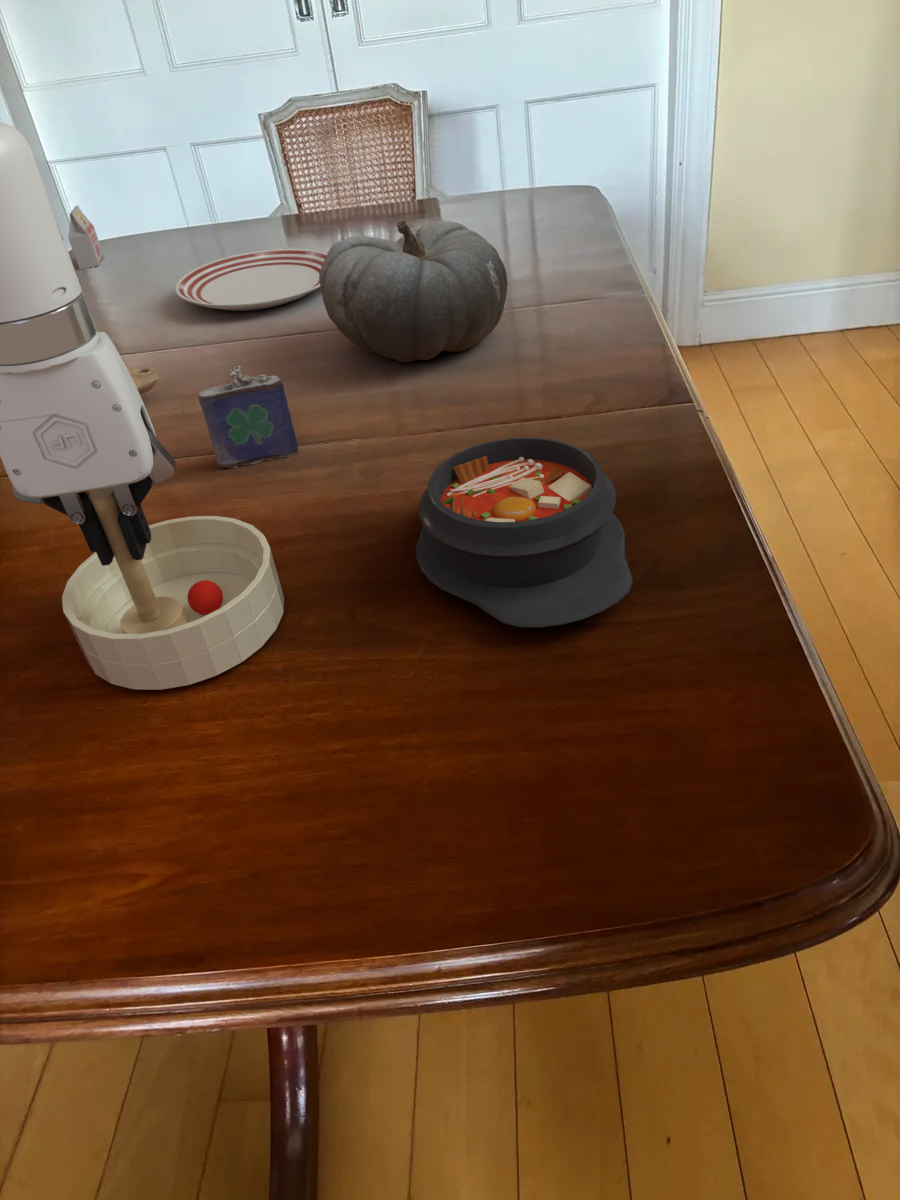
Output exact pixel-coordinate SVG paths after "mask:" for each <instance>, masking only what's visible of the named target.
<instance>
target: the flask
mask: <svg viewBox="0 0 900 1200" xmlns="http://www.w3.org/2000/svg"><path fill="white" fill-rule="evenodd" d="M228 377H229V378H230V379H229V380H230V381H231V382H230V383H225V384H221V385H217V386H212V387H209V388H205V389H203V390H201V391H199V393H198V395H197V398H198V402H199V405H200V407H201V410H202V413H203V417H204V422H205V424H206V426H207V429H208V430H207V431H208V434H209V439H210V441H211V444H212V447H213V450H214V451H213V452H214V455H215V458H216V462H217V464H218V466H219V467H220V469H225V468H226V469H236V468H238V467H240V466H248V465H255V464H259V463H261V462H264V461H272V460H275V459H281V458H282V459H283V458H290V457H293V456H294V455H296V454H298V453H299V445H298V440H297V437H296V432H295V429H294V425H293V422H292V415H291V412H290V408H289V404H288V399H287V394H286V391H285V387H284V383H283V382H282V379H281V378H280V377H278V376H277V375H268V376H267V375H266V374H260V375H259V374H258V377H257V376H250V375H248V374H246V373H243V374H242V372H241V366H240V365H237V366H234V367H233V368H229V374H228Z"/></svg>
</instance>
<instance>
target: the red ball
mask: <svg viewBox="0 0 900 1200" xmlns="http://www.w3.org/2000/svg"><path fill="white" fill-rule="evenodd" d="M187 599H188V603H189V606H190V607H191V608H192V609H193V610H194V611H195V612H197V613H199V614H203V615H208V614H210V613H212V612H214V611H216V610H218V609H219V608H220V606H221V604H222V602H223V593H222V590H221V589H220V587H219V586H218V585H217V584H216V583H214V582H212V581H208V580H203V581H199V582H197V583H195V584H194V585H192V587H191V588H190V589H189V592H188V596H187Z"/></svg>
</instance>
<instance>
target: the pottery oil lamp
mask: <svg viewBox="0 0 900 1200" xmlns="http://www.w3.org/2000/svg"><path fill="white" fill-rule="evenodd" d="M126 367H127V369H128V371H129V373H130V375H131V377H132V379H133V381H134V383H135V385H136V387H137V389H138V392H139V394H140V396H141V395H144V394H146V393H148V392H149V391H150V390H152V389H153V388H154V387H155V386H156V385H157V382H158V381H159V378H160V376H159V374H158V372H157V371H156V370H155V368H153V367H150V366H126Z"/></svg>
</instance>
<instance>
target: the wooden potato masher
mask: <svg viewBox="0 0 900 1200" xmlns="http://www.w3.org/2000/svg"><path fill="white" fill-rule="evenodd" d="M90 499H91V501H92V504H93V506H94V509H95V511H96V513H97V516H98V518H99V521H100V523H101V525H102V528H103V530H104V533H105V535H106V537H107V540H108V542H109V545H110V547H111V549H112V552H113V554H114V557H115V559H116V561H117V564H118V566H119V569H120V571H121V574H122V576H123V578H124V581H125V583H126V586H127V588H128V590H129V593H130V595H131V598H132V600H133V602H134V606H132V607H131V608H129V609H128V610H127V611H126V612H125V613H124V615H123V616H122V618H121V621H120V627H121V629H122V631H123V634H143V633H149V632H155V631H161V630H167V629H171V628H174V627H177V626H180V625H183V624H186V623H187V619H186V617H185V614H184V611H183V609H182V606H181V604H180V602H179V601H177V600H176V599H174V598H171V597H155V594H154V591H153V589H152V586H151V584H150V581H149V579H148V576H147V574H146V571H145V569H144V566H143V564H142V561H141V560H135V559H132V556H131V554H130V551H129V549H128V546H127V544H126V541H125V539H124V536H123V534H122V531H121V529H120V526H119V524H118V516H119V513H120V511H119V509H118V507H119V505H118V502H117V500H116V497H115V494H114V492H113V489H112V487H109V488H103V489H97V490H92V492H91V493H90Z"/></svg>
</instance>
